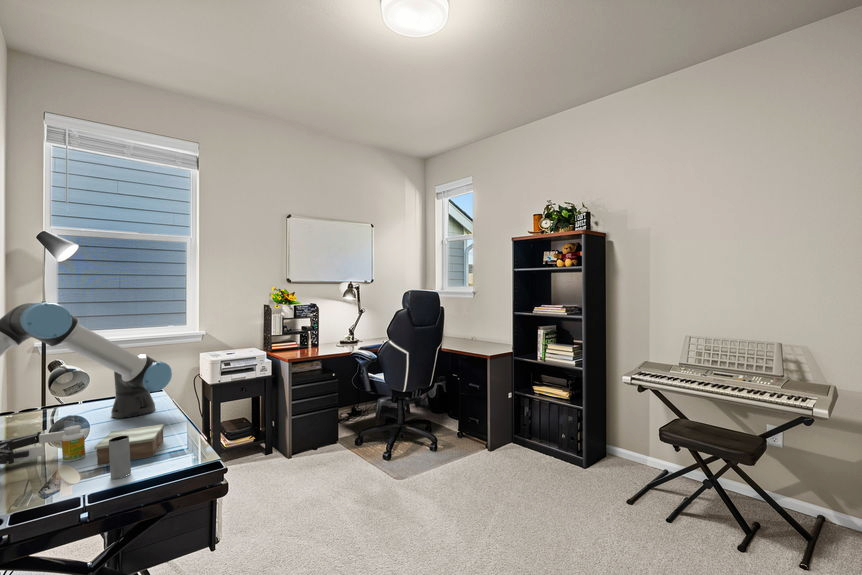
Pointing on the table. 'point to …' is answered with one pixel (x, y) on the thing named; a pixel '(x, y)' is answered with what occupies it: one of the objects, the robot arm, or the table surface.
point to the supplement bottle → (73, 444)
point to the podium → (133, 442)
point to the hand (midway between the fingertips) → (55, 442)
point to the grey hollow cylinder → (119, 457)
